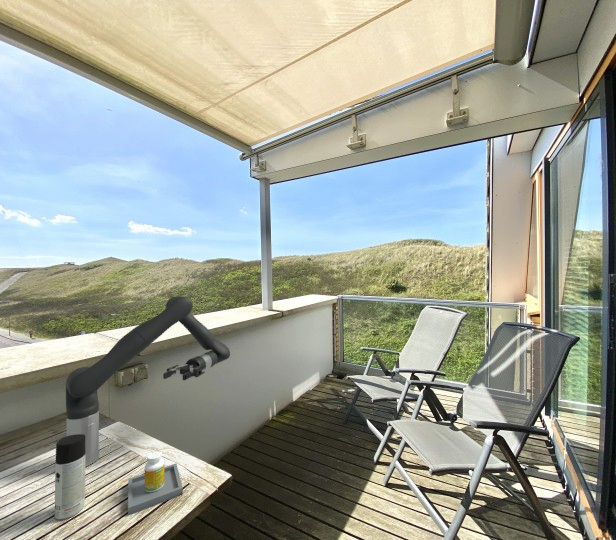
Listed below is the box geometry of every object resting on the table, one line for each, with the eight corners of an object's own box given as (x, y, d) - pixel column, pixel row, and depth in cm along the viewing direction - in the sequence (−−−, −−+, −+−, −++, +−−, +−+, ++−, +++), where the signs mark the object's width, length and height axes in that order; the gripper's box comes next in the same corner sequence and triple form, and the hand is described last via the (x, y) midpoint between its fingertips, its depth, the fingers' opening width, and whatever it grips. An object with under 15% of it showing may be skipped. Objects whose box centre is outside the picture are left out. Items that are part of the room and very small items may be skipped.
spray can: (66, 502, 85) (66, 433, 86) (90, 500, 86) (91, 432, 86) (47, 521, 78) (48, 446, 79) (74, 519, 79) (74, 445, 79)
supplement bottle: (156, 494, 87) (155, 461, 87) (140, 492, 88) (140, 459, 88) (168, 481, 92) (167, 450, 92) (153, 479, 93) (153, 449, 93)
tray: (128, 515, 80) (128, 508, 80) (128, 485, 92) (128, 478, 92) (182, 494, 87) (182, 487, 87) (176, 469, 99) (176, 463, 99)
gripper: (184, 355, 128) (157, 366, 112) (213, 356, 124) (189, 368, 109) (184, 372, 128) (157, 385, 112) (213, 374, 124) (190, 388, 108)
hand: (173, 377), depth 110 cm, fingers open, 8 cm apart
